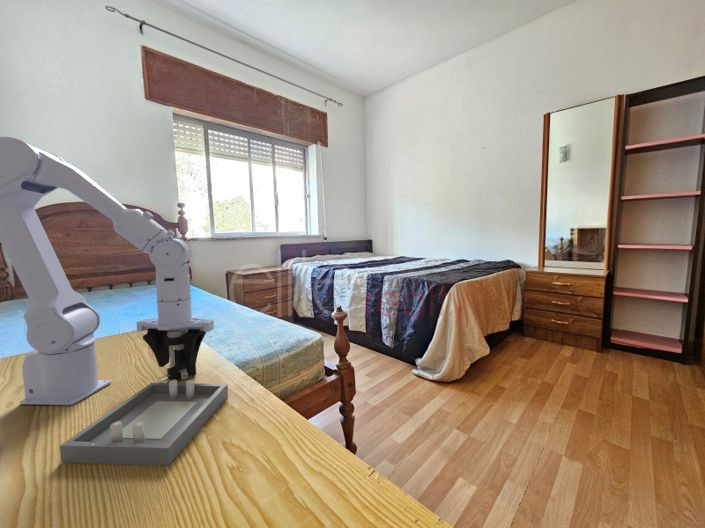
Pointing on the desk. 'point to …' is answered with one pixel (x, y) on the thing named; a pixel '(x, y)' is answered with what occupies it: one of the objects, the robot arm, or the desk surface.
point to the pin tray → (147, 425)
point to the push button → (177, 357)
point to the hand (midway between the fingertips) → (177, 365)
